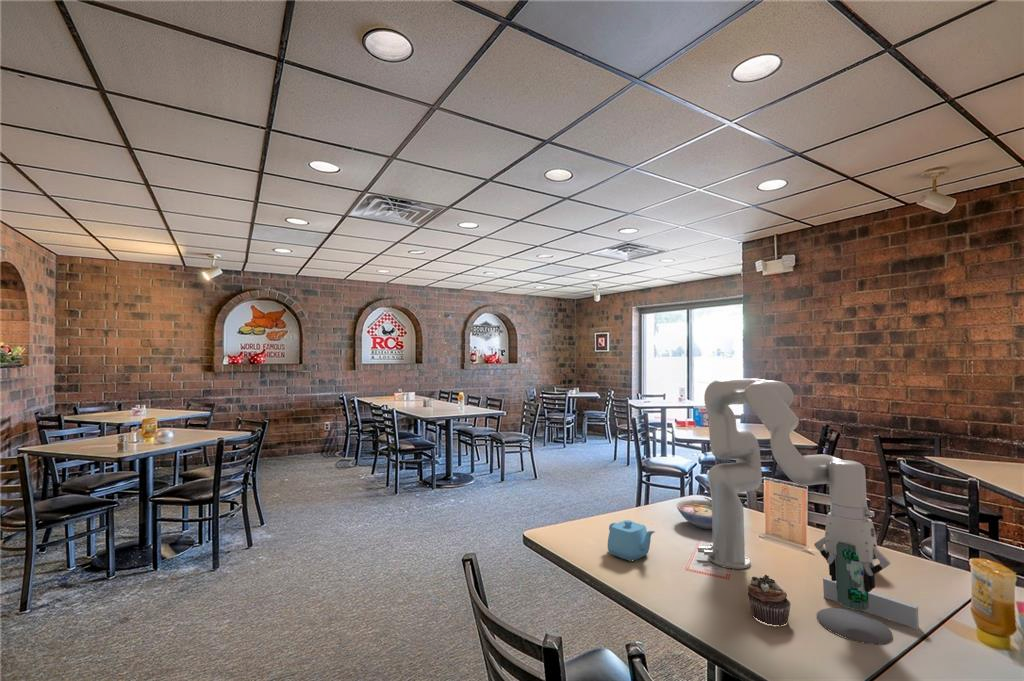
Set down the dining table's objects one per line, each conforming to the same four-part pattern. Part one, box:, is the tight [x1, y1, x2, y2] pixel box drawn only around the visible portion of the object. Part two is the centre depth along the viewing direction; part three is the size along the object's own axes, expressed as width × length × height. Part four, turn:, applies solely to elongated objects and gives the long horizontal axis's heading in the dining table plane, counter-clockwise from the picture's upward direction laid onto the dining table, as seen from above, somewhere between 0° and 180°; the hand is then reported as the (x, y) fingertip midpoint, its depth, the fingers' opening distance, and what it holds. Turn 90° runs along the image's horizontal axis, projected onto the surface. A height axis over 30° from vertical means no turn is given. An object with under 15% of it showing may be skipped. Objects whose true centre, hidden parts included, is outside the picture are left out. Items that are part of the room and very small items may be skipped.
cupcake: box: [747, 574, 792, 626], centre depth 119 cm, size 10×10×10 cm
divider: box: [822, 577, 920, 630], centre depth 122 cm, size 2×20×5 cm, turn 37°
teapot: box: [607, 519, 656, 562], centre depth 158 cm, size 12×18×12 cm
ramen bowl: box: [675, 497, 712, 530], centre depth 187 cm, size 25×23×8 cm
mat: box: [816, 607, 893, 645], centre depth 115 cm, size 15×15×1 cm
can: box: [835, 542, 869, 611], centre depth 116 cm, size 6×6×15 cm
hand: (851, 584), depth 116 cm, fingers closed on can, 6 cm apart
